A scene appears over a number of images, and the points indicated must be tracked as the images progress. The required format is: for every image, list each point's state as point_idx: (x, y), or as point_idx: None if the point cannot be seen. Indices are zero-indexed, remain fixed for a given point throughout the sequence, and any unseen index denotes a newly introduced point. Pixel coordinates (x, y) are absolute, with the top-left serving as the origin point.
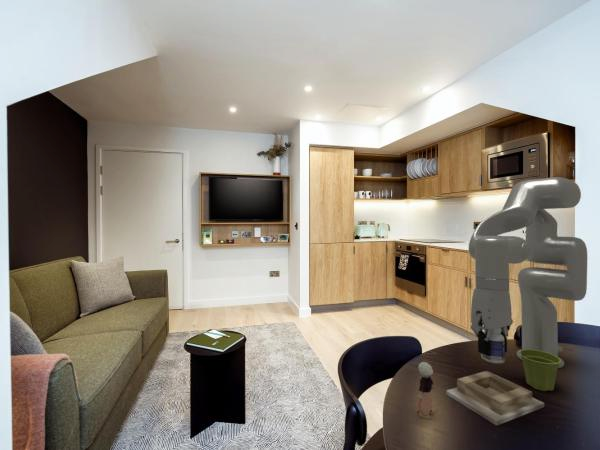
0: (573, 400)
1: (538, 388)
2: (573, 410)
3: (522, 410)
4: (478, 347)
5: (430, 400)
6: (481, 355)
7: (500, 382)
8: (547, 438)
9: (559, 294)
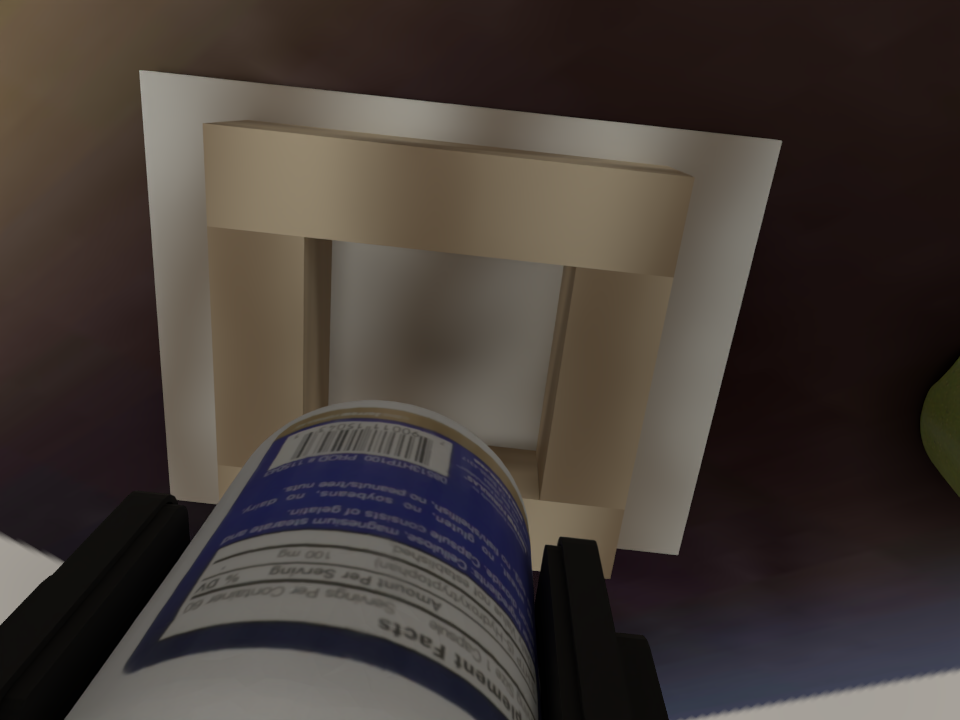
0: (936, 594)
1: (925, 436)
2: (783, 630)
3: None
4: (91, 539)
5: None
6: (262, 447)
7: (559, 374)
8: None
9: None
